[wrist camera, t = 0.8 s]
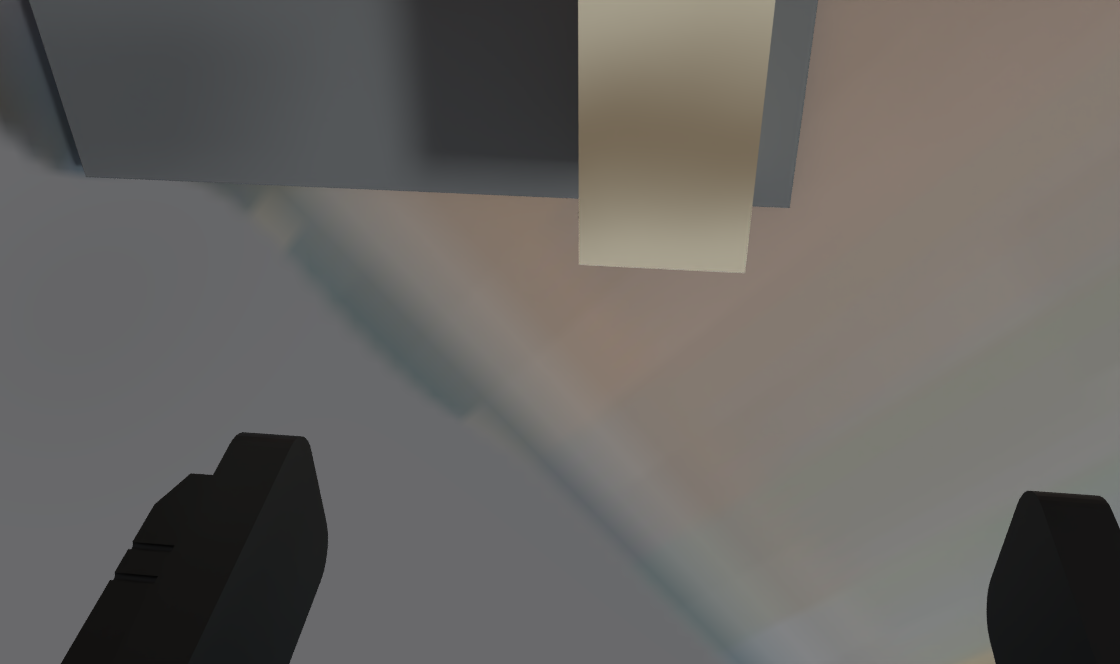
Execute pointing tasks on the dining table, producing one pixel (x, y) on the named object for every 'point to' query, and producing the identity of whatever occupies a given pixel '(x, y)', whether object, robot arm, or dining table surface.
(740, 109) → the maple brick
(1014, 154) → the dining table surface
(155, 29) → the charcoal mat
